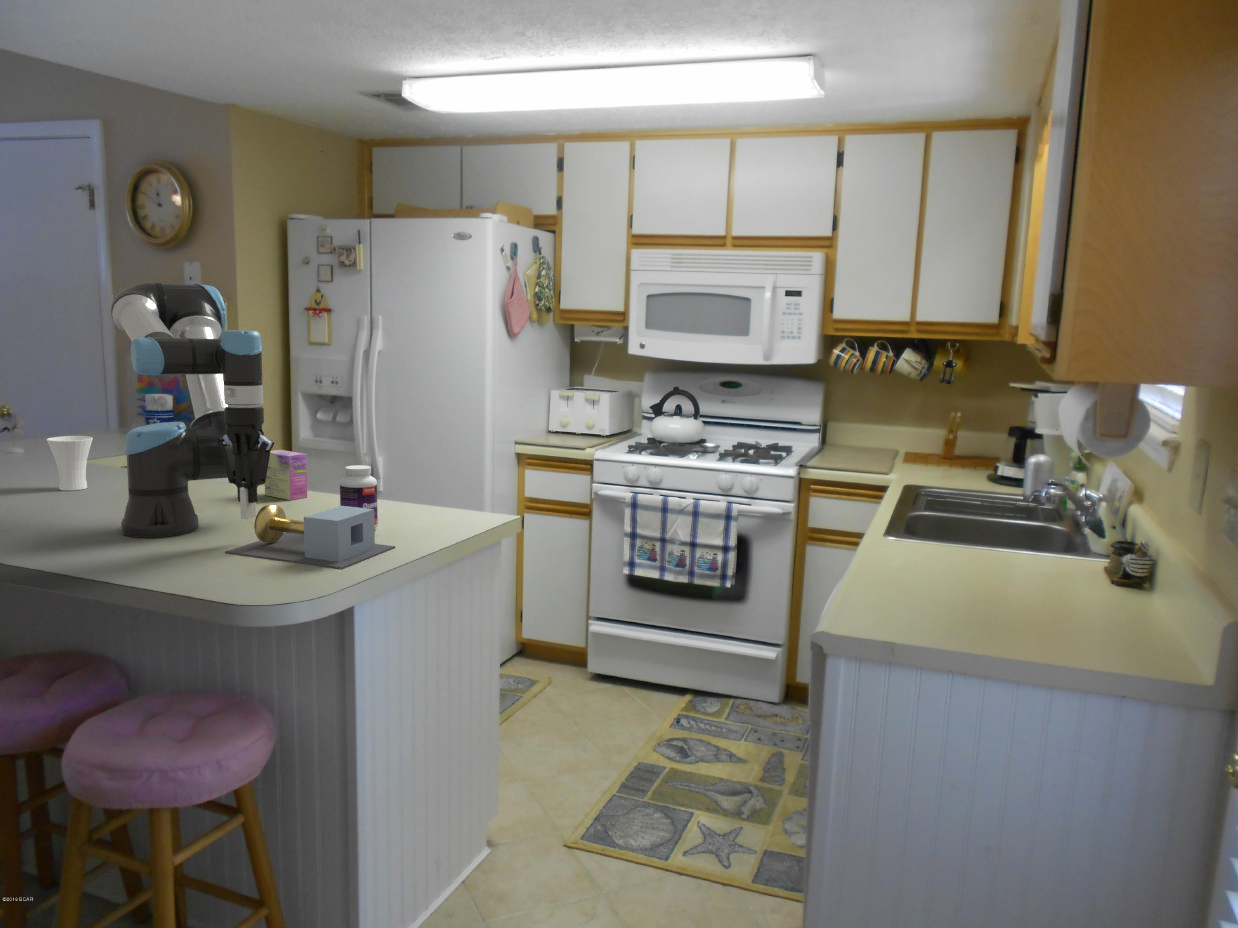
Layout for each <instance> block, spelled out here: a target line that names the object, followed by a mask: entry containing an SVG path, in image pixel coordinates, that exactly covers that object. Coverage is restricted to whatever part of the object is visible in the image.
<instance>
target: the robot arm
mask: <svg viewBox="0 0 1238 928" xmlns="http://www.w3.org/2000/svg"><path fill="white" fill-rule="evenodd" d="M110 316H111V319H112V321H113V322H114V324H115V326H116V327H117V328H118V329H119V330H120V331H121V332H123V333H124V334H126V335H127V336H128V338H129V339H130V341H131V344H130V360H131V365H132V370H133V371H134V372H135V373H136V374H137V375H143V376H145V375H147V376H153V377H155V376H156V377H157V376H173V375H174V376H178V375H179V376H181V375H184V376H185V377H186V383H187V387H188V391H189V392H188V393H189V397H190V400H191V404H192V409H193V414H194V418H195V419H194V420H192V421H191V423H190V426H189V427H187V426H186V424H185V423H184V422H183V421H169V422H166V421H164V422H159V423H158V422H157V423H156V422H155V423H152V424H146V425H142V426H138V427H135V428H133V429H131V430H129V431H128V432H127V434H126V436H125V450H124V453H125V455H126V469H127V471H126V472H127V486H128V487H127V488H128V489H127V490H128V499H127V502H126V506H125V511H124V516H123V518H122V519H121V522H120V525H121V526H120V528H121V534H123V535H124V536H127V537H133V538H162V537H165V538H166V537H172V536H179V535H184V534H189V533H192V532H194V531H197V530H198V529H199V516H198V514H197V513H196V511H195V508H194V504H193V502H192V500H191V497H190V495H189V481H200V480H201V481H203V480H215V479H216V480H217V479H227V480H228V483H229V484H233V485H235V486H236V488H237V500H238V502H240V503H239V504H240V505H239V508H240V519H241V520H248V519H252V518H256V516H257V514H256V513H257V512H256V503H258V487H259V486H262V485H265V481H266V475H267V469H268V463H269V457H270V451H272V450H273V447H274V446H275V441H274V440H273V439H268V438H267V437H266V436H265V433H264V430H263V424H264V423H265V411H264V409H265V408H263V406H262V405H263V403H265V402H264V384H263V360H262V359H263V358H262V357H263V356H262V354H263V345H262V339H261V334H260V332H258V331H257V330H249V329H248V330H246V329H244V330H241V329H240V330H239V329H229V330H228V329H227V330H226V327H227V326H226V325H227V312H226V305H225V302H224V299H223V296H222V295H221V292H220V291H219V290H218V289H217V288H216V287H215V286H212V285H210V284H208V285H207V284H202V283H193V284H187V283H186V284H184V283H168V282H153V281H152V282H151V281H147V282H139V283H135V284H133V285H130V286H128V287H126V288H124V289H122V290H121V291H120V292H118V293H117V294H116V296H115V297H114V298H113V300H112V302H111V306H110Z"/></svg>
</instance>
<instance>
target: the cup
mask: <svg viewBox="0 0 1238 928" xmlns="http://www.w3.org/2000/svg"><path fill="white" fill-rule="evenodd" d="M93 439H94V438H93V436H88V435H65V436H55V437H48V438H46V441H47V444H48V446H49V449H50V451H51V453H52V455H53V458H54V460H55V461H54V462H55V465H56V467H57V471H58V473H57V474H58V480H59V481H58V490H60V491H66V492H67V491H68V492H70V491H80V490H85V489H88V483H87V462H88V459H89V454H90V449H91V446H92V443H93Z"/></svg>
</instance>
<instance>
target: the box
mask: <svg viewBox="0 0 1238 928" xmlns="http://www.w3.org/2000/svg"><path fill="white" fill-rule="evenodd" d="M264 496H269V497H273V498H278V499H282V500H287V501H296V500H302V499H307V498H308V454H307V453H301V452H294V451H290V450H284V449H275V450H271V451H270V457H269V463H268V469H267V475H266V481H265V484H264Z"/></svg>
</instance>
